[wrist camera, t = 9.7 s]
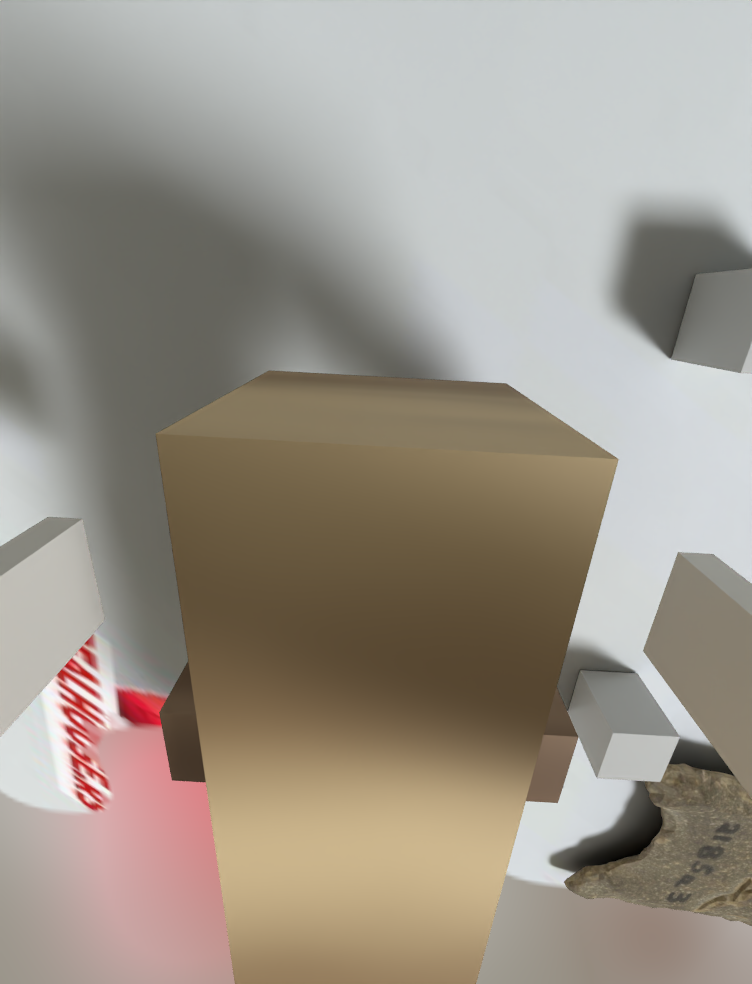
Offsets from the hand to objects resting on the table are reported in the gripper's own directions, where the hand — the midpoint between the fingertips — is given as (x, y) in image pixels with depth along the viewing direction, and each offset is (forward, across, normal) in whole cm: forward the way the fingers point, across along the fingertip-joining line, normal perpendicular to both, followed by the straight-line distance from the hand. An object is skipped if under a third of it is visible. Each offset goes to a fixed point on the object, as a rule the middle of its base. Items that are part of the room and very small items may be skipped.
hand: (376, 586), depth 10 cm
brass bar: (-1, 0, -5) cm, 5 cm away
